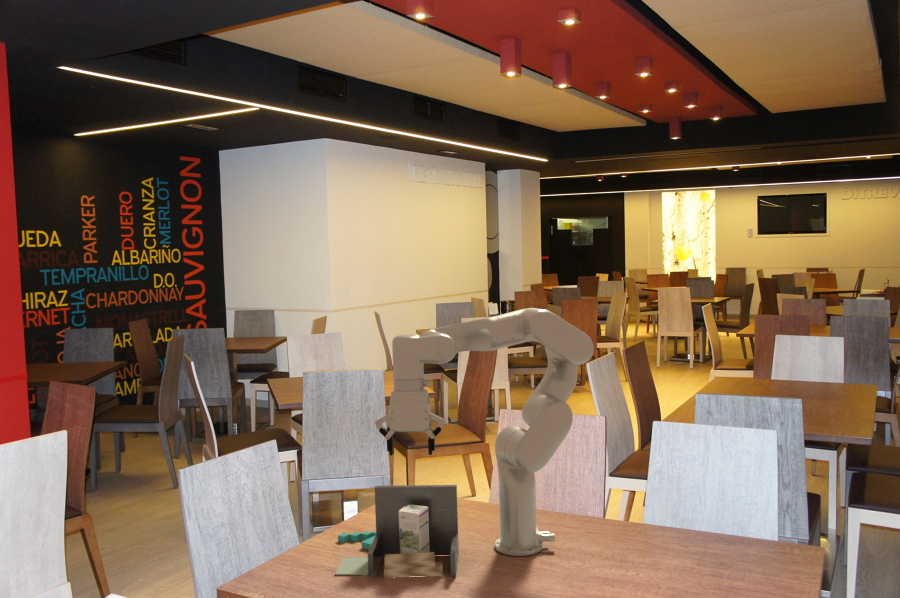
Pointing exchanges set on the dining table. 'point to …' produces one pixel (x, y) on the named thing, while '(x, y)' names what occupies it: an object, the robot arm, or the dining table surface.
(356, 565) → the mat
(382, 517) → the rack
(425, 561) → the offcut stack
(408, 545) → the syrup box
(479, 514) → the dining table surface
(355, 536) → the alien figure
